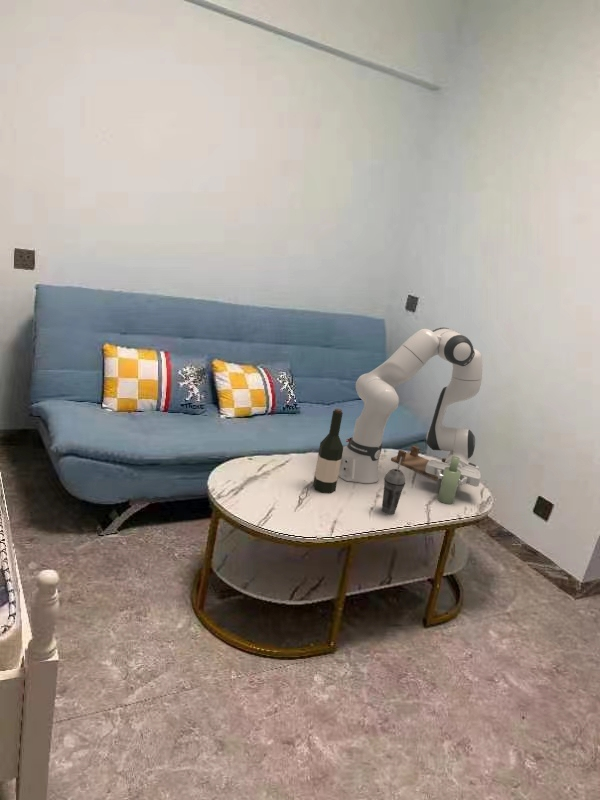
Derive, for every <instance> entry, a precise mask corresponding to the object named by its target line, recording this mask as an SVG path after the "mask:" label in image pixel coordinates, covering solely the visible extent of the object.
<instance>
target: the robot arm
mask: <svg viewBox="0 0 600 800" xmlns="http://www.w3.org/2000/svg"><path fill="white" fill-rule="evenodd" d="M435 356H439V358H441V359H443V360H444V361H447V362H449V363H451V364H452V371H451V372H452V373H451V379H450V381H449V383H448V385H447V386H444V387H443V388H442V390H441V391H440V394H439V396H438V399H437V403H436V406H435V409H434V410H435V411H434V414H433V418H432V420H431V425H430V427H429V428H428V431H427V433H426V436H425V437H426V444H427V446H428V447H429V448H430V450H432V451H443V452H444V451H445V452H449V453H448V455H447V456H446V461H445V463H444V462H442V461H440V460H437V459H431V460H430V459H429V460H430V461H428V462H427V465H426V469H425V472H426V473H429V474H432V475H436V476H438V480H442V477H443V473H444V469H445V467H450V463H451V459H452V456H456V457H458V458H460V460H459V464H458V468H457V469H458V470H460V471H461V475H460V479H459V483H458V485H460V486H463V485H469V486H472V487H479V485H480V482H481V478H482V476H481V475H482V474H481V471H480V467H479V465H477V464H474V463H472V462H470V459H471V458H472V457H473V455H474V451H475V448H476V447H475V446H476V437H475V434H474V433H473V432H472V431H471V430H470V429H468V428H461V427H451V426H446V425H444V424H443V421H444V419H445V414H446V412H447V411H446V410H447V408H448V407H449V406H450V405H452V404H455V403H459V402H463V401H467V400H470V399H472V398H474V397H475V396H476V395H477V394H479V391H480V390H481V385H482V380H483V379H482V378H483V358H482V357H483V356H482V354H481V352H480V351H479V350H478V349H476V348H474V345H473V343H472V341H471V340H470V338H468V337H466V336H465V335H463V334H461V333H460V332H459V331H457V330H454V329H451V328H449V327H438V328H435V329H433V330H431V329H428V328H422V329H419V330H418V331H416V332H415V333H414V334H412V335H411V336H410V337H408V339H406V340H405V342H403V343H402V344H401V345H400V346H399V347H398V349H397V350H395V352H393V354H391V356H389V358H388V359H386V360H385V361H384V362H382V363H381V364H380V365H379V366H377V367H376V368H374V369H373V370H371V371H369V372H366V373H363V374H361V375H360V376H359V377H358V378H357V380H356V382H355V390H356V393H357V396H358V397H359V398H360V399H361V400H362V402H363V404H364V405H363V408H362V411H361V412H360V413H361V414H360V415H359V416H358V417H357V418H356V419H355V423H354V424H355V425H354V430H353V435H352V437H349V438H347V439H346V441H345V443H347V445H343V453H342V458H341V464H340V469H339V474H338V478H341V479H342V480H344V481H346V482H355V483H359V484H360V483H362V484H374V483H376V482H378V481H379V462H380V461H379V460H380V457H381V453H382V448H383V444H382V442H383V437H384V433H385V429H386V425H387V423H388V420H389V418H390V416H391V415H392V413H394V412H395V411H396V410H397V408H398V406H399V403H400V397H399V395H398V393H397V391H396V389H395V388H396V387H398V386H399V385H401V384H403V383H407V382H409V381H410V380H411V379H412V378H414V376H415V375H416V374H417V373H419V371H421V369H422V368H423V367H424V366H425V365H426V364H427V363H428V361H429V360H430V359H432V358H433V357H435Z"/></svg>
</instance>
